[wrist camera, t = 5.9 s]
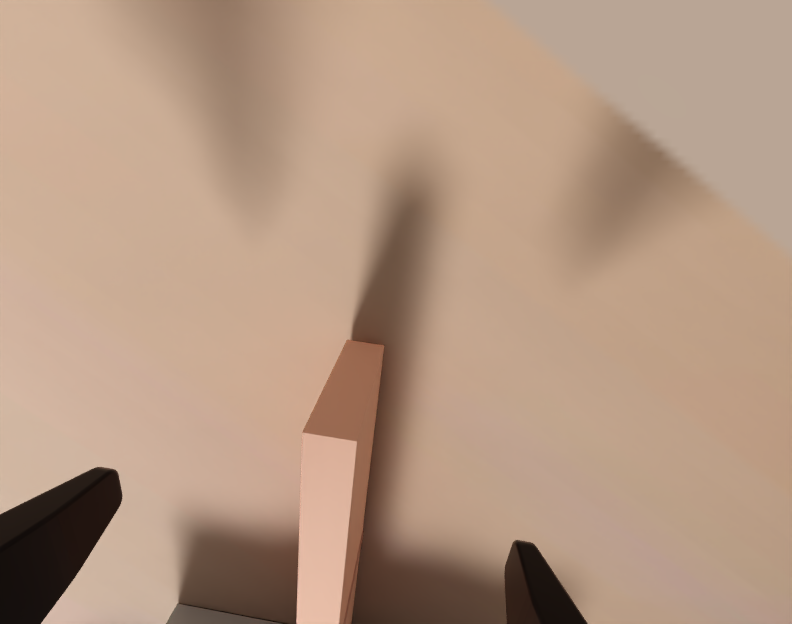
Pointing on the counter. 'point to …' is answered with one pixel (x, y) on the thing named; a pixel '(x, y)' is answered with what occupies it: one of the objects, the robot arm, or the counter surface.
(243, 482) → the counter surface
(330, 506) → the peach rectangular bar
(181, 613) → the notched grey box
